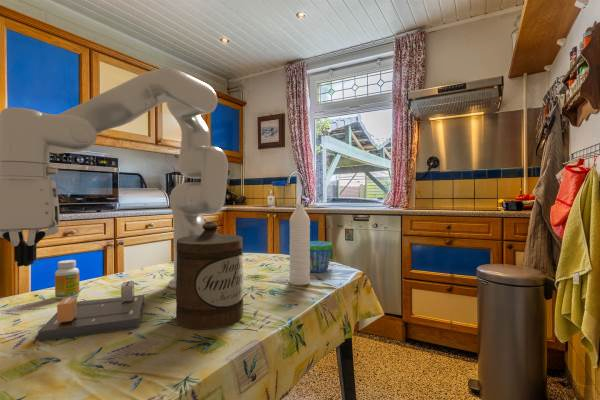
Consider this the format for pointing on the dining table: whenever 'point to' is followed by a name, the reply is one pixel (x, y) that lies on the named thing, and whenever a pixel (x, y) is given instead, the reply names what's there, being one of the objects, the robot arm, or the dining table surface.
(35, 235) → the robot arm
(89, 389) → the dining table surface
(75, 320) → the console
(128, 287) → the block
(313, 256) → the snack cup
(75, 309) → the orange fader
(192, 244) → the wooden container
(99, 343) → the dining table surface
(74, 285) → the supplement bottle
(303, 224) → the water bottle
